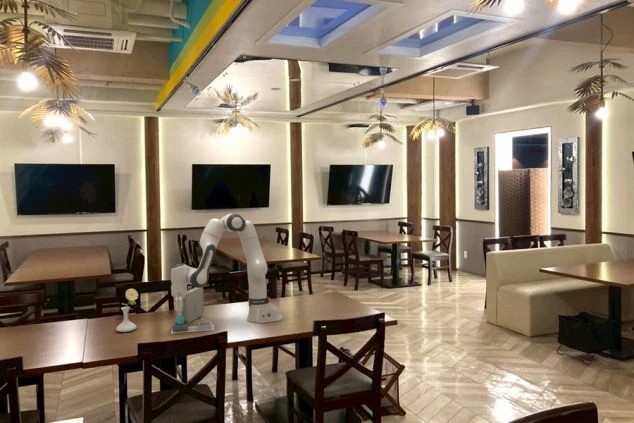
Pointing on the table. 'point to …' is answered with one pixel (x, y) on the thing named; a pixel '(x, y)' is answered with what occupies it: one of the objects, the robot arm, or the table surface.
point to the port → (180, 327)
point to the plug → (180, 319)
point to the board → (193, 329)
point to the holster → (204, 325)
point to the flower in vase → (127, 324)
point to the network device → (193, 305)
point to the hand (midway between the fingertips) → (180, 315)
